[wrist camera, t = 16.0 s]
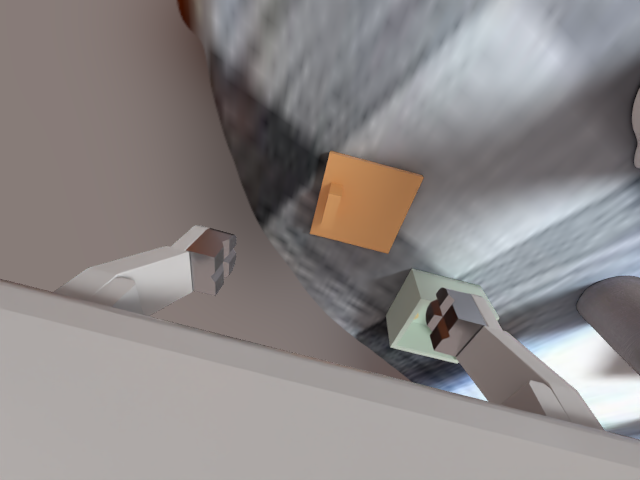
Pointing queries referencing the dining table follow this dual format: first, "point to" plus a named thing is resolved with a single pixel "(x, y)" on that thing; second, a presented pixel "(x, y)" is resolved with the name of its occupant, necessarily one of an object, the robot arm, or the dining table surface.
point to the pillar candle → (615, 315)
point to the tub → (421, 312)
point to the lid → (363, 202)
